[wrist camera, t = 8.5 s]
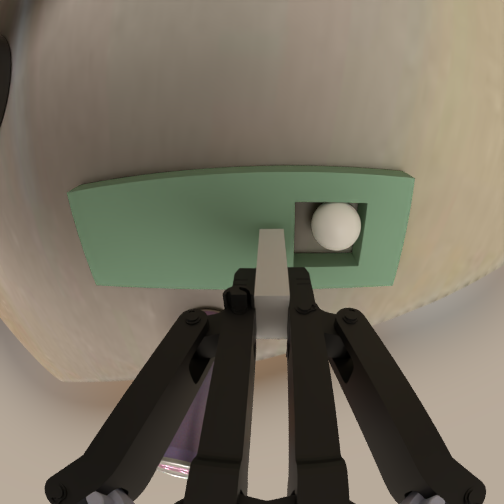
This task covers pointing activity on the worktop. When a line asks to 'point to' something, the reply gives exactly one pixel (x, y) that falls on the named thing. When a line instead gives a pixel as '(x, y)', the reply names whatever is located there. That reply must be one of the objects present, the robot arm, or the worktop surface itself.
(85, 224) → the green rectangular board
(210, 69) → the worktop surface
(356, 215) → the white ball
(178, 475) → the beverage can
